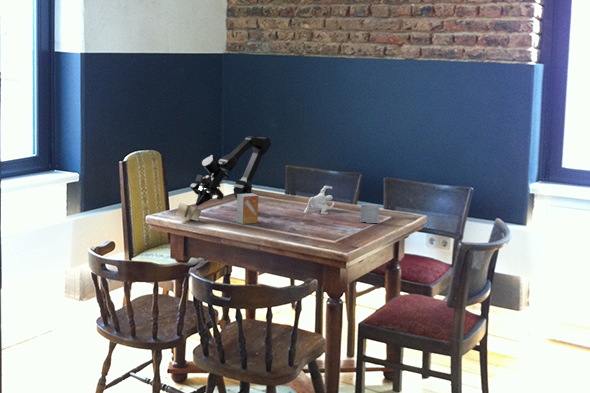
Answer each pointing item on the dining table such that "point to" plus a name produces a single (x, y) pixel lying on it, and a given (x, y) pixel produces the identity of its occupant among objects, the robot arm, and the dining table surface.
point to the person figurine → (320, 201)
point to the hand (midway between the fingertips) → (196, 205)
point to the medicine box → (369, 213)
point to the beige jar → (188, 212)
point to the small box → (247, 208)
